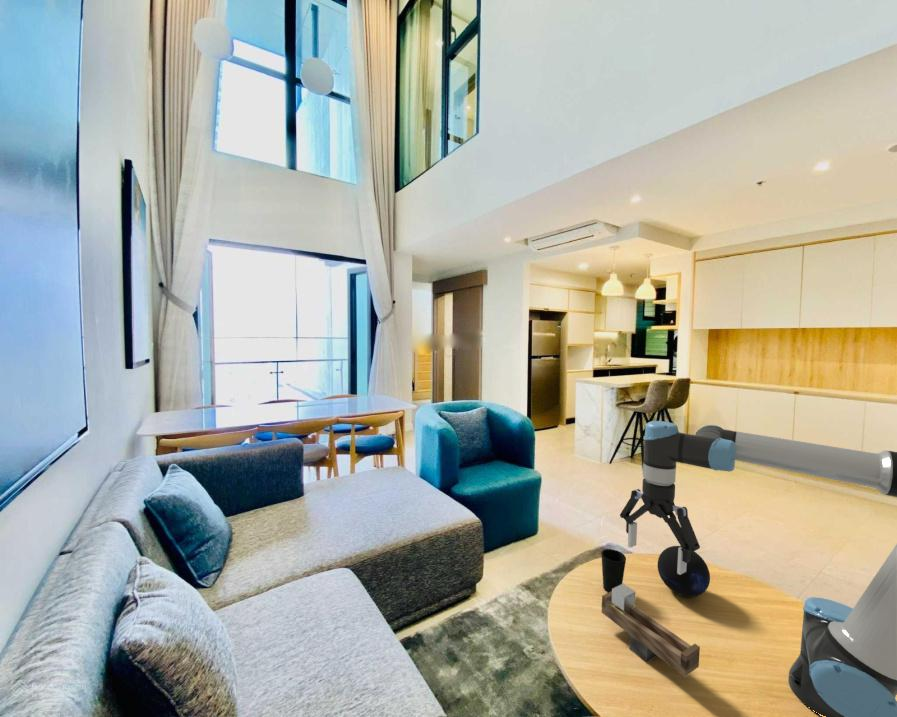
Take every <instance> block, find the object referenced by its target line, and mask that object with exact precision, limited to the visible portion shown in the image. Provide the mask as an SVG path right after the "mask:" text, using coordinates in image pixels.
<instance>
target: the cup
mask: <svg viewBox="0 0 897 717" xmlns="http://www.w3.org/2000/svg"><path fill="white" fill-rule="evenodd" d="M600 554H601V570H602V588H603V590H604V591H605V592H606V593H609V592H611V591H612V589H613V588H615V587H617V586H619V585H621V584H623V581H624V574H625V568H626V563H627V562H626V560H627V557H626V556H625V554H624V553H623V552H621V551H619V550H616V549H613V548H607V549H603V550H602V551H601V552H600Z"/></svg>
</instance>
